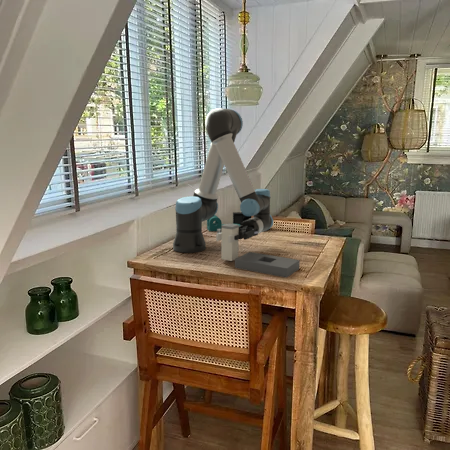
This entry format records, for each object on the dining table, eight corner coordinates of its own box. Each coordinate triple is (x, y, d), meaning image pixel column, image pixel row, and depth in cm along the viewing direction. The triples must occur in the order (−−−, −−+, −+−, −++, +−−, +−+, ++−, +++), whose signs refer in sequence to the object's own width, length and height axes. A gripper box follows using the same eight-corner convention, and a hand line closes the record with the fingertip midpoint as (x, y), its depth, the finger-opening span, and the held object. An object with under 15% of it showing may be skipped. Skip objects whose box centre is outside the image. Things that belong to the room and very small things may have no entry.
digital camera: (233, 225, 247) (233, 213, 245) (232, 223, 252) (232, 212, 250) (251, 225, 247) (251, 213, 246) (250, 223, 253) (250, 211, 251)
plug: (221, 259, 176) (221, 225, 173) (227, 256, 180) (228, 223, 177) (231, 261, 173) (232, 227, 170) (238, 257, 178) (238, 224, 174)
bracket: (209, 231, 233) (209, 217, 231) (207, 229, 240) (206, 215, 238) (241, 230, 237) (241, 215, 236) (238, 227, 244) (238, 213, 242)
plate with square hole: (234, 270, 169) (234, 259, 168) (249, 262, 179) (249, 251, 178) (286, 280, 158) (286, 268, 157) (299, 271, 168) (299, 260, 167)
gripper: (269, 238, 186) (242, 251, 166) (233, 233, 195) (204, 244, 176) (270, 221, 184) (242, 232, 165) (233, 216, 193) (204, 226, 174)
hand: (223, 238), depth 170 cm, fingers closed on plug, 5 cm apart
